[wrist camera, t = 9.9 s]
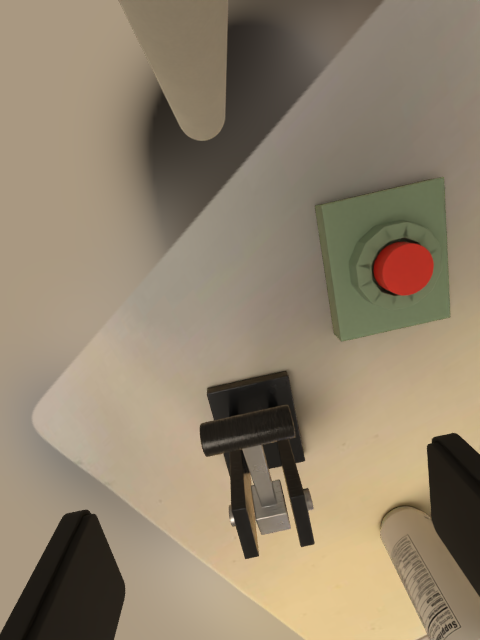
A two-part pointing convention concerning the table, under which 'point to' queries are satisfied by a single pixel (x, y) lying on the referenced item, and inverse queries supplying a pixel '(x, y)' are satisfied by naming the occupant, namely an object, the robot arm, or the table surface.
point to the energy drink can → (431, 576)
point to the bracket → (277, 454)
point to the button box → (363, 248)
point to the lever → (255, 457)
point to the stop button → (403, 268)
